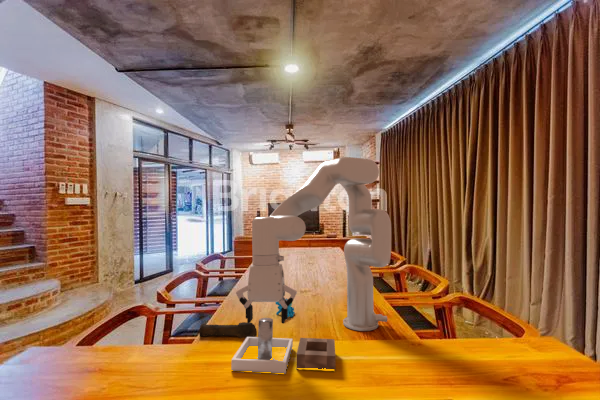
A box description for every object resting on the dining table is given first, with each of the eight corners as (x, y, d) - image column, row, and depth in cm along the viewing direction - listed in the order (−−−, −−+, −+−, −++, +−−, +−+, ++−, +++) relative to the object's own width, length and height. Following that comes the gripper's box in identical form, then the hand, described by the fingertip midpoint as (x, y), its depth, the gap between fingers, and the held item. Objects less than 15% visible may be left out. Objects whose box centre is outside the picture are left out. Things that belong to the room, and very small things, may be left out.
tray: (292, 348, 84) (292, 338, 84) (285, 374, 70) (285, 362, 70) (247, 346, 85) (247, 336, 86) (231, 371, 72) (231, 359, 72)
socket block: (334, 353, 81) (334, 339, 82) (335, 372, 71) (335, 356, 72) (300, 351, 82) (300, 337, 83) (296, 370, 72) (296, 354, 73)
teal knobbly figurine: (287, 317, 106) (273, 295, 111) (277, 327, 108) (263, 305, 112) (300, 312, 116) (286, 292, 121) (291, 321, 117) (277, 301, 122)
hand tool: (197, 338, 92) (198, 324, 92) (203, 333, 96) (203, 319, 96) (254, 341, 90) (254, 326, 90) (257, 335, 94) (257, 321, 94)
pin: (273, 354, 80) (274, 318, 81) (270, 361, 76) (271, 322, 77) (259, 353, 80) (260, 317, 81) (255, 360, 76) (257, 322, 77)
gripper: (297, 257, 83) (298, 316, 82) (240, 258, 84) (241, 316, 83) (294, 262, 75) (295, 327, 74) (231, 262, 77) (232, 326, 76)
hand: (266, 321), depth 79 cm, fingers open, 9 cm apart
